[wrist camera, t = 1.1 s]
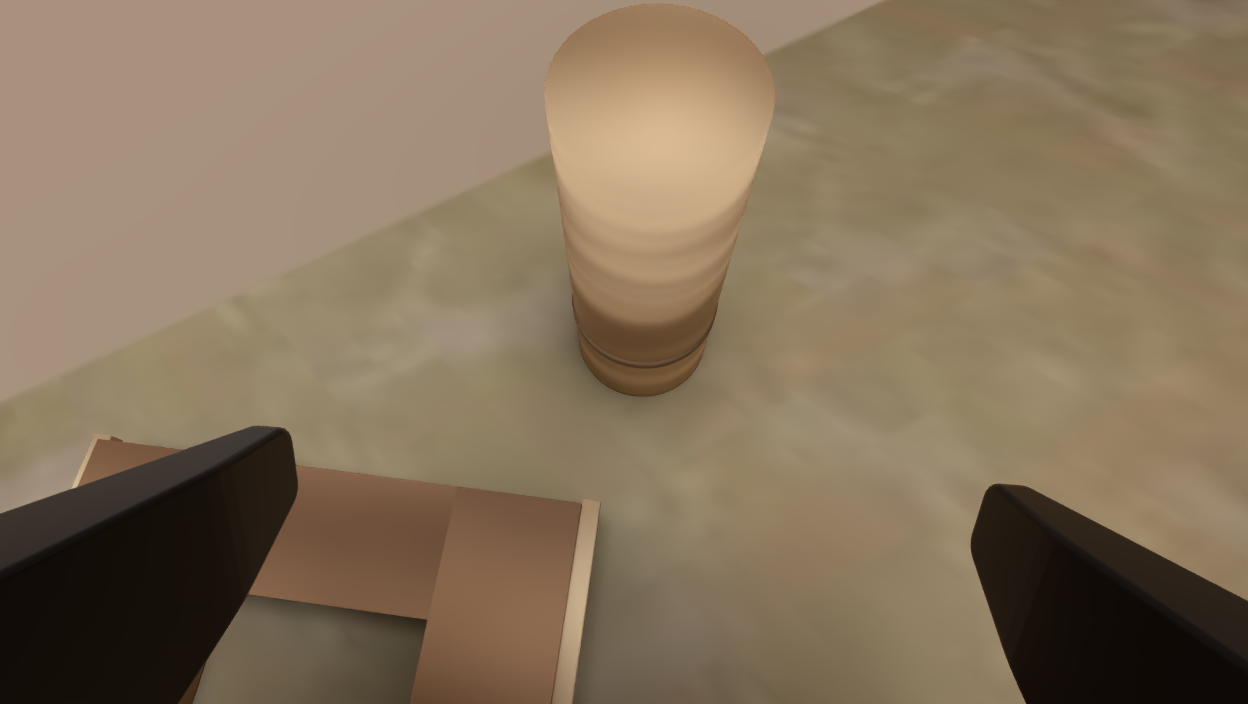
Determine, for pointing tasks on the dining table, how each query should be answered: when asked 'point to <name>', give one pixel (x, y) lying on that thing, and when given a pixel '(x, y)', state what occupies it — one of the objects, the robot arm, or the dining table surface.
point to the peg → (653, 181)
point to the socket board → (431, 573)
